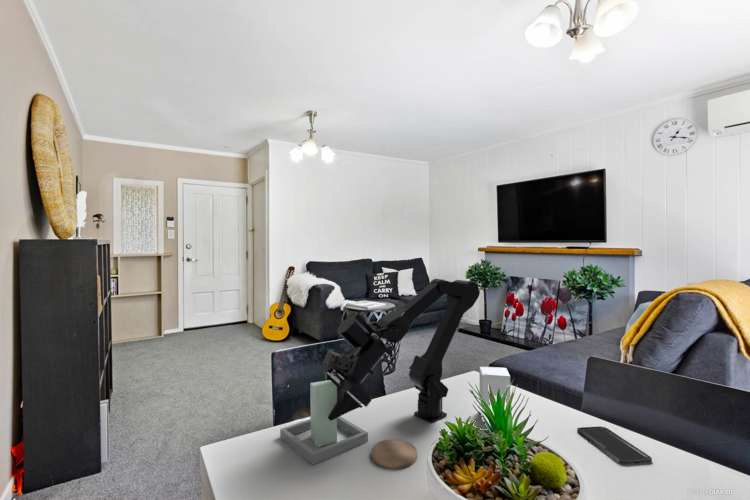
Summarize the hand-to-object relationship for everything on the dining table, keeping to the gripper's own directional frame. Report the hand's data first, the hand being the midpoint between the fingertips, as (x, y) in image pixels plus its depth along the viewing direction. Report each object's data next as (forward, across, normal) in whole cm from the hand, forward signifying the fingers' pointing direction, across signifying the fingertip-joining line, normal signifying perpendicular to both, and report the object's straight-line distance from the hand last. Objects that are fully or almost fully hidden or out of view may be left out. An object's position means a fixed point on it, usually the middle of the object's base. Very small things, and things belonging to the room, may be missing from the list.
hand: (322, 411), depth 90 cm
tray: (+5, 0, +5) cm, 7 cm away
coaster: (-4, +13, +13) cm, 19 cm away
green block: (+5, 0, +5) cm, 7 cm away
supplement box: (-27, +9, +37) cm, 46 cm away
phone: (-37, +31, +47) cm, 67 cm away
